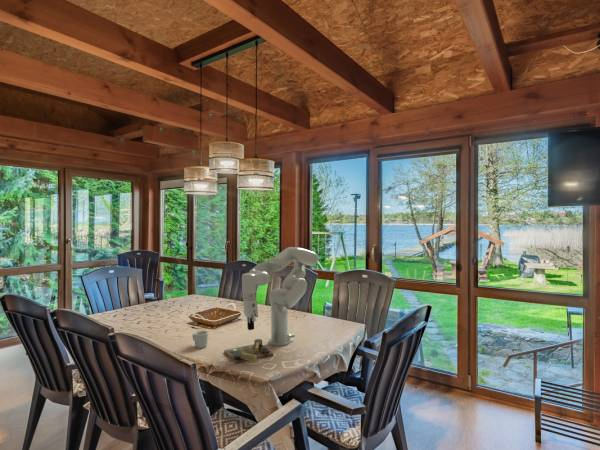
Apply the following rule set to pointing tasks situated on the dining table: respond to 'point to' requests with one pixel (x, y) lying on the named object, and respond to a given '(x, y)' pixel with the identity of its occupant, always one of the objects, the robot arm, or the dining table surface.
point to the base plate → (249, 349)
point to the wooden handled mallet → (244, 356)
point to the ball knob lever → (257, 344)
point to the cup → (200, 339)
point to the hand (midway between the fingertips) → (250, 329)
